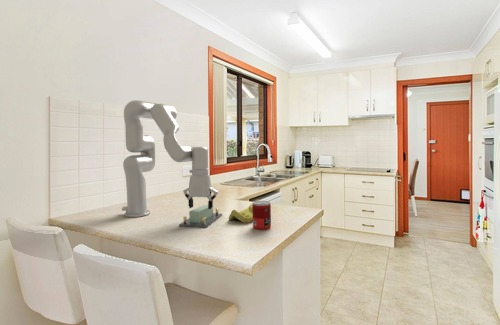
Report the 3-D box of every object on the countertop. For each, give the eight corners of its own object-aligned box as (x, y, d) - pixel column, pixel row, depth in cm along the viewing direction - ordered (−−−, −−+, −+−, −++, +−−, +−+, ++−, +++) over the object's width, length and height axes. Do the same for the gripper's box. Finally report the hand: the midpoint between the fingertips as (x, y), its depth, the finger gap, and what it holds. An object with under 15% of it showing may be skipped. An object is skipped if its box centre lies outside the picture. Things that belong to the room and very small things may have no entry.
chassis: (179, 226, 132) (178, 217, 132) (198, 214, 154) (198, 207, 154) (206, 227, 129) (206, 218, 129) (222, 215, 151) (221, 207, 151)
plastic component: (247, 219, 134) (231, 207, 138) (242, 232, 136) (227, 220, 141) (270, 207, 150) (255, 197, 154) (265, 219, 152) (250, 209, 157)
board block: (189, 222, 136) (189, 211, 136) (204, 214, 149) (204, 205, 149) (199, 222, 134) (198, 211, 134) (213, 215, 147) (212, 205, 147)
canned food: (268, 230, 123) (267, 204, 122) (250, 229, 126) (249, 203, 125) (273, 225, 130) (272, 201, 130) (256, 224, 133) (255, 200, 132)
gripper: (179, 173, 138) (180, 209, 140) (214, 174, 135) (215, 210, 136) (186, 171, 146) (187, 205, 147) (220, 172, 142) (220, 207, 143)
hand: (200, 208), depth 141 cm, fingers open, 9 cm apart
